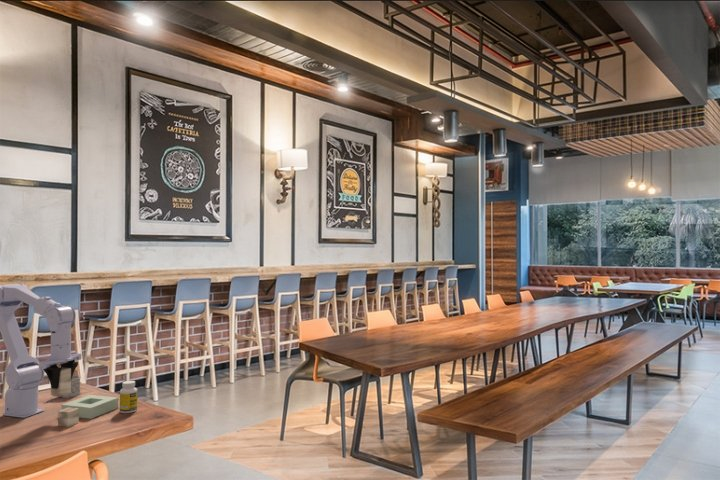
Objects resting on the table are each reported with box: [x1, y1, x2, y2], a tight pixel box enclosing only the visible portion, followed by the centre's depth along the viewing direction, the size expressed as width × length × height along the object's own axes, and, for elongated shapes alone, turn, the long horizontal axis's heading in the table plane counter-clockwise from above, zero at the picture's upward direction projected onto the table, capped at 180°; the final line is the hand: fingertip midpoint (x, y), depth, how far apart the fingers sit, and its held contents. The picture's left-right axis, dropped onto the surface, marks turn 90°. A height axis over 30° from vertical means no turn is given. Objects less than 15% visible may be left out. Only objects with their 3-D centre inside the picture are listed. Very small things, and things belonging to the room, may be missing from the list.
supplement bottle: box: [119, 380, 138, 414], centre depth 179 cm, size 5×5×10 cm
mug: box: [51, 374, 81, 399], centre depth 197 cm, size 10×7×7 cm
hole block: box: [61, 394, 119, 420], centre depth 179 cm, size 12×12×4 cm
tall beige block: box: [50, 367, 71, 397], centre depth 171 cm, size 4×4×8 cm
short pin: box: [57, 407, 80, 428], centre depth 167 cm, size 4×4×4 cm
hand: (60, 386), depth 171 cm, fingers closed on tall beige block, 4 cm apart
